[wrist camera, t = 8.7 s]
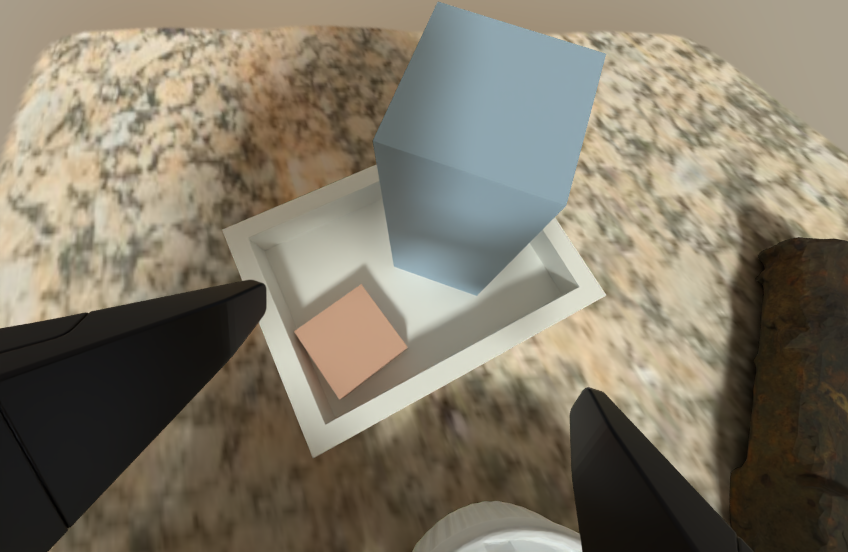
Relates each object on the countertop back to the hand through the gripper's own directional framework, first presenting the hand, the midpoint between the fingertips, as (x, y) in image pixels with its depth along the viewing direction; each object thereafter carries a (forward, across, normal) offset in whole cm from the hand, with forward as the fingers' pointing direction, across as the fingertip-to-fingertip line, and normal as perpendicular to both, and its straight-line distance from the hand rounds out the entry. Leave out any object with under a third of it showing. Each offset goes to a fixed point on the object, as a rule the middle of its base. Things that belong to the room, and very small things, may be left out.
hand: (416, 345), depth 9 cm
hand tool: (+10, -20, +5) cm, 23 cm away
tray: (+10, +2, +4) cm, 11 cm away
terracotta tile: (+6, +4, +6) cm, 10 cm away
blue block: (+11, 0, +1) cm, 11 cm away
